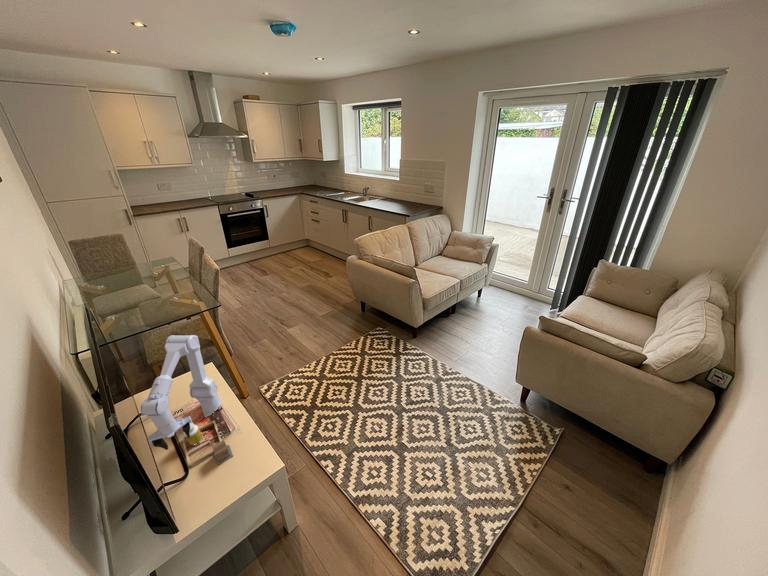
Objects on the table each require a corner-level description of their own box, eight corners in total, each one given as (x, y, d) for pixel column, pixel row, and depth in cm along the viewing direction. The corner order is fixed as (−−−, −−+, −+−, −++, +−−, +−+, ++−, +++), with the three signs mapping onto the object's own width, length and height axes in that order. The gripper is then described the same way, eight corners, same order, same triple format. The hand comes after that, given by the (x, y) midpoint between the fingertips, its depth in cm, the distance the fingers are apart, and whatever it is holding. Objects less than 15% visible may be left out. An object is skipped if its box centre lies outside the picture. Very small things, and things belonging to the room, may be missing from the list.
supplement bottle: (198, 446, 130) (190, 433, 124) (186, 445, 130) (177, 431, 125) (205, 434, 134) (198, 421, 129) (194, 433, 135) (186, 420, 129)
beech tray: (182, 439, 132) (181, 437, 131) (215, 422, 139) (214, 420, 138) (189, 468, 122) (188, 466, 121) (224, 447, 129) (223, 445, 128)
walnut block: (216, 453, 127) (212, 446, 124) (227, 447, 129) (223, 439, 126) (219, 462, 124) (214, 455, 121) (230, 455, 126) (226, 448, 123)
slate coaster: (214, 453, 127) (213, 453, 127) (229, 445, 130) (228, 444, 130) (217, 465, 123) (217, 464, 123) (233, 456, 126) (232, 455, 126)
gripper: (142, 441, 107) (158, 461, 115) (188, 417, 115) (200, 438, 122) (140, 426, 112) (155, 447, 119) (184, 405, 120) (196, 425, 127)
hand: (178, 441), depth 121 cm, fingers open, 7 cm apart
